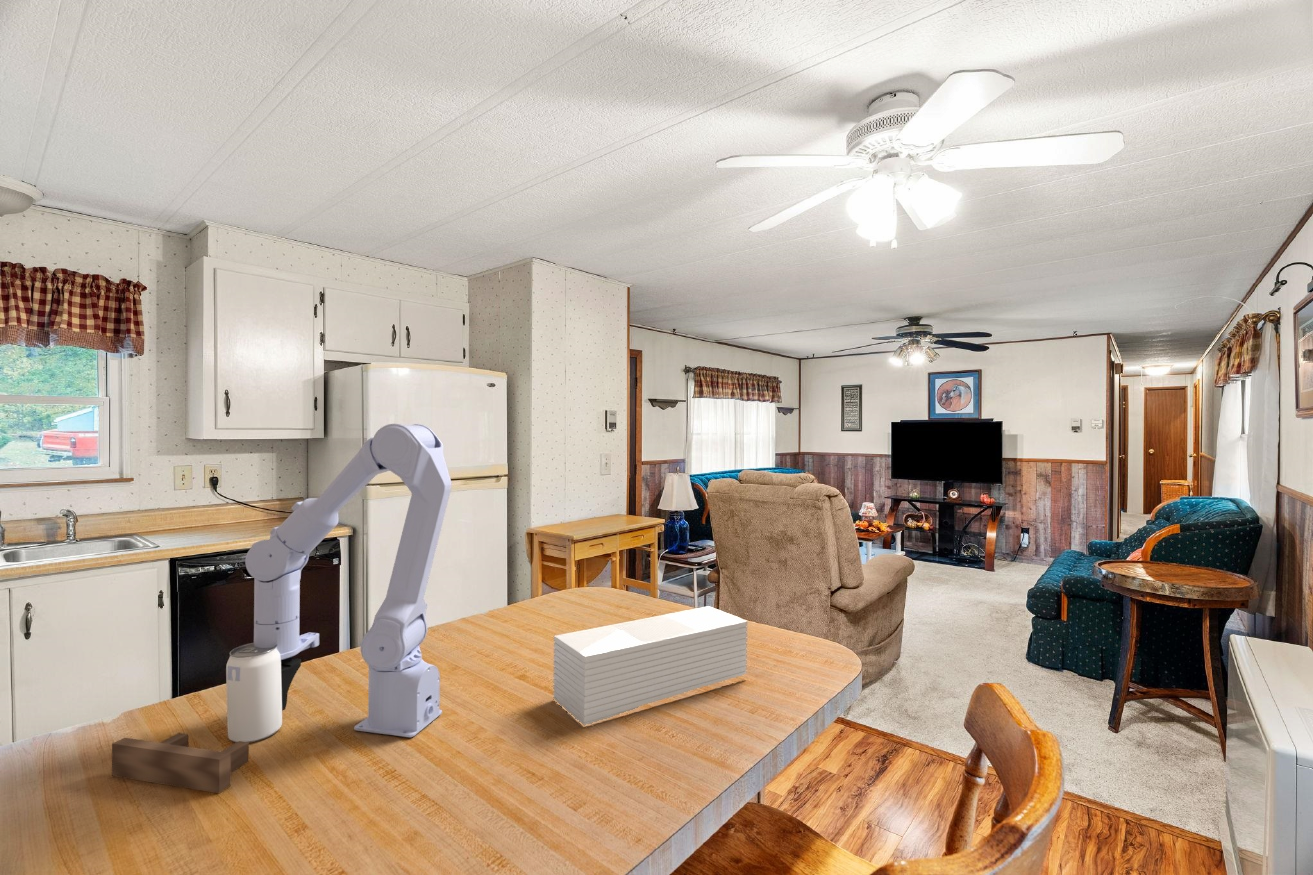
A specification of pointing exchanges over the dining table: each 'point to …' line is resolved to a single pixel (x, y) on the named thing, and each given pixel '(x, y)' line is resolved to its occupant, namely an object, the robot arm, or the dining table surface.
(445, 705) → the dining table surface
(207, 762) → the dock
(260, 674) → the can
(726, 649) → the stack of papers
